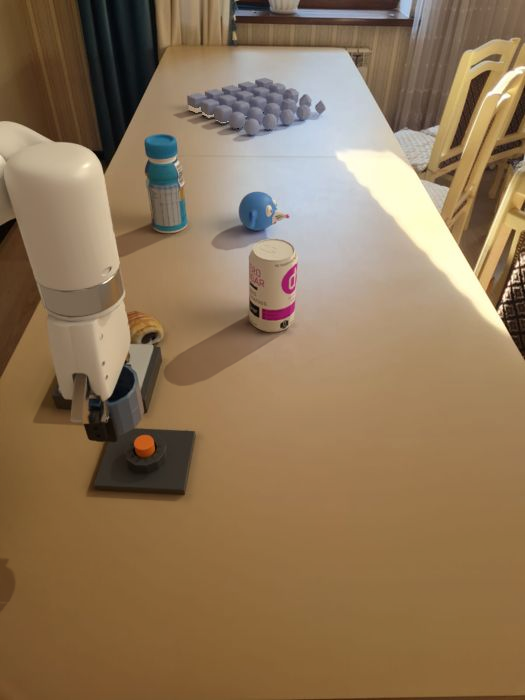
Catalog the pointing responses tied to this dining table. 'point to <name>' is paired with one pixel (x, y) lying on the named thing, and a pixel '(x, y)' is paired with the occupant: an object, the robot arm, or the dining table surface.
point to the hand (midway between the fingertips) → (113, 412)
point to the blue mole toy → (259, 211)
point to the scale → (142, 362)
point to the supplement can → (272, 284)
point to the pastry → (144, 329)
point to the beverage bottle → (165, 184)
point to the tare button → (144, 446)
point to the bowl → (124, 401)
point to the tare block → (147, 463)
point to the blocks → (254, 105)
